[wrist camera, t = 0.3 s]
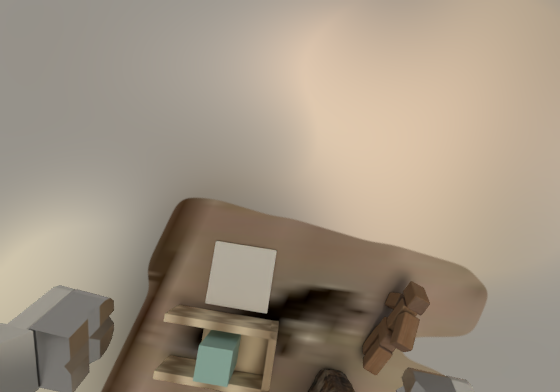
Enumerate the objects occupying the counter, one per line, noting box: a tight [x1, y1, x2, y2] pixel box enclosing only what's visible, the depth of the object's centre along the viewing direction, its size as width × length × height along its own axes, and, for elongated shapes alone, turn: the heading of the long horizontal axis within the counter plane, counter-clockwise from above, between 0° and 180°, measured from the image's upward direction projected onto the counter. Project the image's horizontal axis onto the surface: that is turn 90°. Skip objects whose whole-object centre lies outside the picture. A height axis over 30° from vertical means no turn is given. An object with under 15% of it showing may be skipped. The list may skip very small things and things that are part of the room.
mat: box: [205, 241, 277, 314], centre depth 61 cm, size 11×11×1 cm
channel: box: [153, 305, 279, 392], centre depth 56 cm, size 18×10×7 cm, turn 81°
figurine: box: [363, 281, 430, 375], centre depth 55 cm, size 13×2×15 cm
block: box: [193, 330, 241, 387], centre depth 53 cm, size 5×5×9 cm
